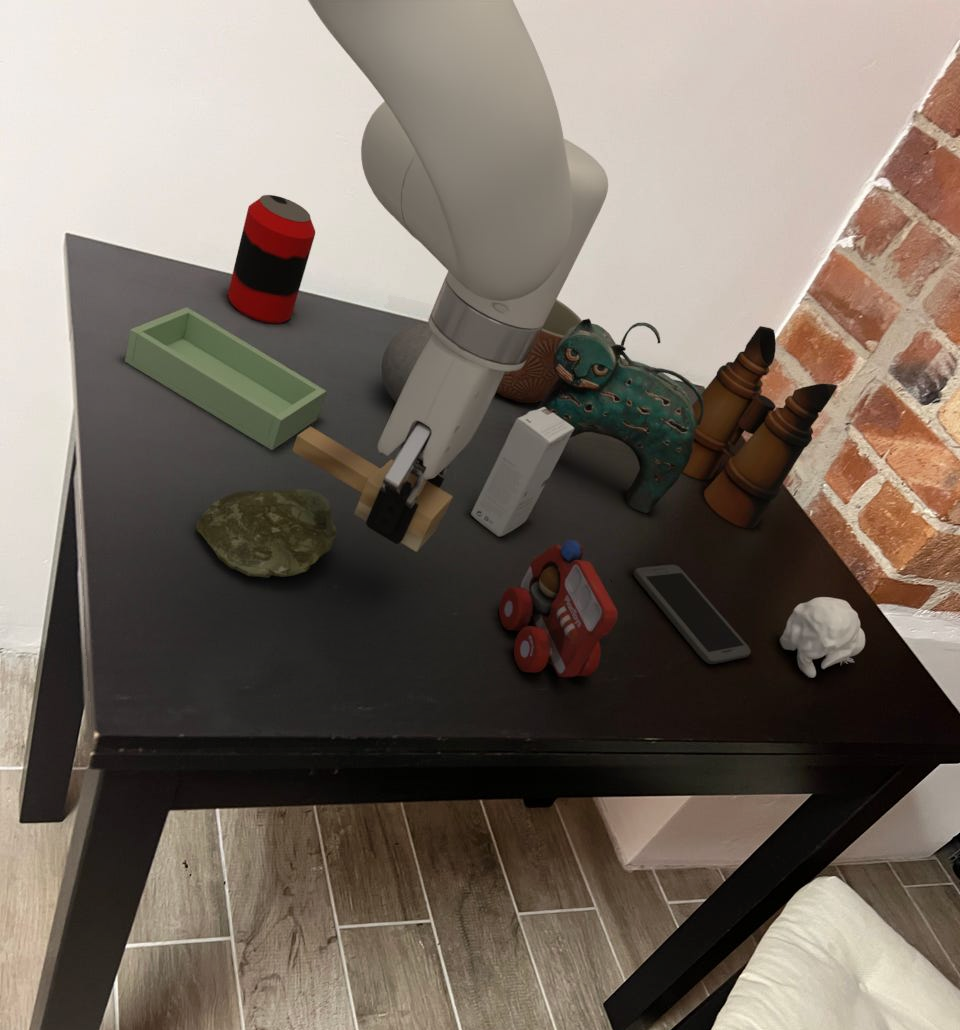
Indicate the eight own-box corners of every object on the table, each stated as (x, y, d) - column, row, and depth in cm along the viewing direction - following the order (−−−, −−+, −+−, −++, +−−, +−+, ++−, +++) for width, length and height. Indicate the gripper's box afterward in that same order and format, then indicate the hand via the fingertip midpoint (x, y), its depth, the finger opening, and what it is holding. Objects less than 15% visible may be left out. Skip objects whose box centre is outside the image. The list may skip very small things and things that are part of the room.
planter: (473, 346, 124) (506, 272, 117) (554, 387, 126) (591, 316, 119) (455, 381, 115) (489, 303, 108) (542, 425, 116) (582, 350, 109)
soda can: (276, 293, 112) (302, 197, 104) (300, 327, 108) (329, 231, 101) (217, 285, 107) (240, 185, 100) (241, 321, 103) (267, 219, 96)
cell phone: (673, 567, 104) (676, 563, 103) (750, 657, 97) (754, 652, 96) (629, 572, 99) (633, 567, 99) (707, 666, 92) (711, 661, 92)
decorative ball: (462, 438, 105) (497, 363, 99) (384, 427, 100) (416, 347, 94) (434, 389, 111) (465, 315, 105) (359, 376, 106) (387, 297, 99)
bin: (124, 361, 89) (130, 328, 87) (180, 337, 96) (186, 306, 94) (271, 450, 88) (281, 420, 86) (316, 419, 95) (326, 390, 93)
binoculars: (769, 527, 122) (866, 402, 110) (731, 529, 117) (829, 398, 105) (688, 442, 131) (769, 318, 119) (649, 441, 126) (731, 310, 114)
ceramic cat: (503, 455, 106) (582, 299, 94) (510, 430, 111) (585, 279, 99) (653, 524, 109) (748, 382, 97) (652, 497, 114) (743, 359, 102)
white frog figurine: (812, 582, 95) (871, 588, 103) (760, 637, 100) (819, 640, 108) (850, 626, 92) (908, 629, 100) (794, 681, 97) (853, 680, 104)
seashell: (176, 514, 74) (267, 432, 74) (202, 532, 81) (285, 456, 82) (261, 605, 73) (352, 521, 74) (280, 615, 81) (363, 538, 81)
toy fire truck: (549, 601, 89) (599, 521, 83) (591, 698, 82) (651, 618, 75) (487, 593, 86) (534, 509, 80) (525, 693, 78) (581, 609, 72)
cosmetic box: (500, 539, 94) (552, 444, 86) (466, 514, 94) (515, 417, 87) (527, 521, 98) (579, 429, 91) (495, 496, 99) (544, 403, 92)
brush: (279, 470, 74) (291, 433, 72) (307, 450, 77) (319, 415, 75) (416, 553, 73) (432, 519, 71) (437, 529, 77) (453, 496, 75)
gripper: (480, 272, 71) (399, 460, 82) (390, 325, 57) (308, 540, 69) (562, 321, 71) (470, 503, 82) (491, 386, 57) (393, 592, 68)
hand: (397, 518), depth 75 cm, fingers closed on brush, 4 cm apart
